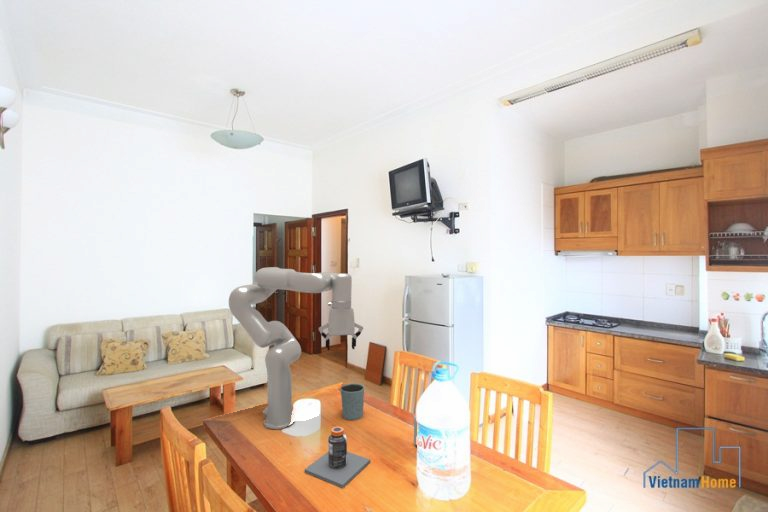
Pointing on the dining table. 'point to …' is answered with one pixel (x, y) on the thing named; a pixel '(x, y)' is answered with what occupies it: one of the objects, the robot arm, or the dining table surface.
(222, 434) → the dining table surface
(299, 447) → the dining table surface
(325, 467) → the slate mat
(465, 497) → the dining table surface
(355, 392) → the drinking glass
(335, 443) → the pill bottle
